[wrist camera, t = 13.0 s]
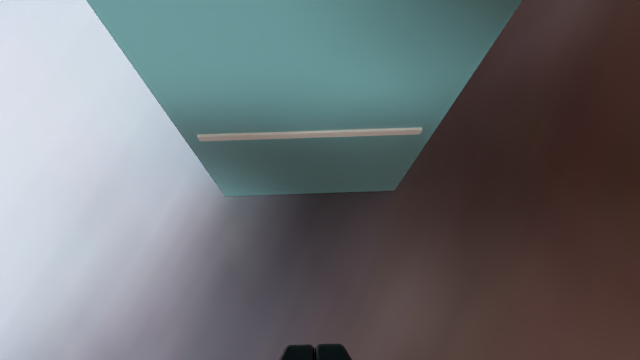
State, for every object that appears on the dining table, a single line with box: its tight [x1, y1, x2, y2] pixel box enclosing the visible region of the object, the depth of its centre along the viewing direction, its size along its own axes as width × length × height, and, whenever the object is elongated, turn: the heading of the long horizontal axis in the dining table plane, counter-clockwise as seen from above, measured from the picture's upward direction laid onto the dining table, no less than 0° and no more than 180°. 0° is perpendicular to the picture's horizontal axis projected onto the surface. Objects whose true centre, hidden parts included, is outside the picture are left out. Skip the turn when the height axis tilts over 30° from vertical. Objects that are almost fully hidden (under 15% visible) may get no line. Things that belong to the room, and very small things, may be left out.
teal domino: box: [87, 0, 522, 196], centre depth 12 cm, size 2×5×12 cm, turn 92°
